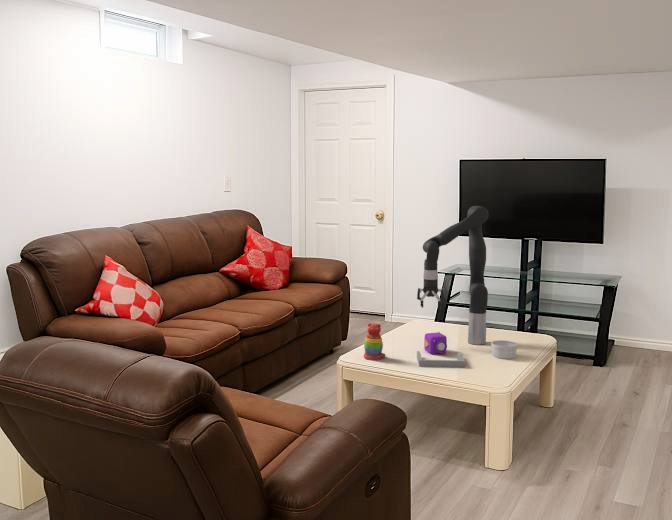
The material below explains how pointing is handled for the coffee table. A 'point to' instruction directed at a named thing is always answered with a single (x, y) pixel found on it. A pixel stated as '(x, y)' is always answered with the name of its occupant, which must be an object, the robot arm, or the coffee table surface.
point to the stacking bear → (373, 343)
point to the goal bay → (441, 361)
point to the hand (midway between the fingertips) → (430, 307)
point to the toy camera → (435, 343)
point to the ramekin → (504, 349)
